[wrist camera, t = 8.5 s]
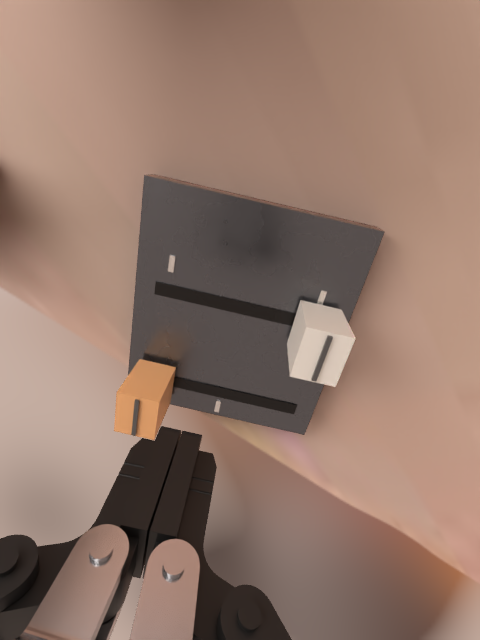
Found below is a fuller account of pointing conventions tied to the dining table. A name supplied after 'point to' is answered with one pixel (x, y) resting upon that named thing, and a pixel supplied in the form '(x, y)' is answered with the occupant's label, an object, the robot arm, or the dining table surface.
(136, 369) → the fader orange
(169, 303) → the console
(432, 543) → the dining table surface
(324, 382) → the fader white
